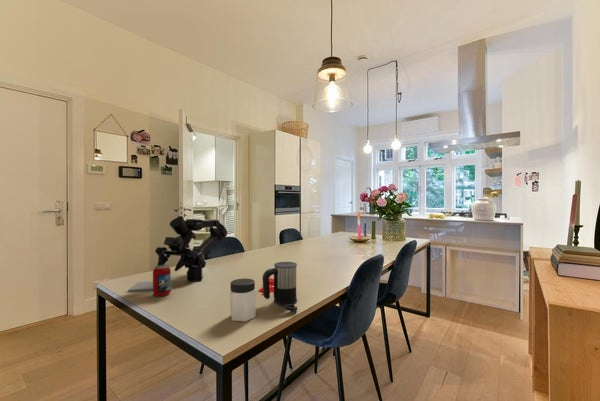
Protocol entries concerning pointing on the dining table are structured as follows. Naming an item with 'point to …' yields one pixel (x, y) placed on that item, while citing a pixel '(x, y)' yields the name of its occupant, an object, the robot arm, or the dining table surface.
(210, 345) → the dining table surface
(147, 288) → the trivet
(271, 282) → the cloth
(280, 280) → the milk frother
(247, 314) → the jar
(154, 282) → the beverage can
